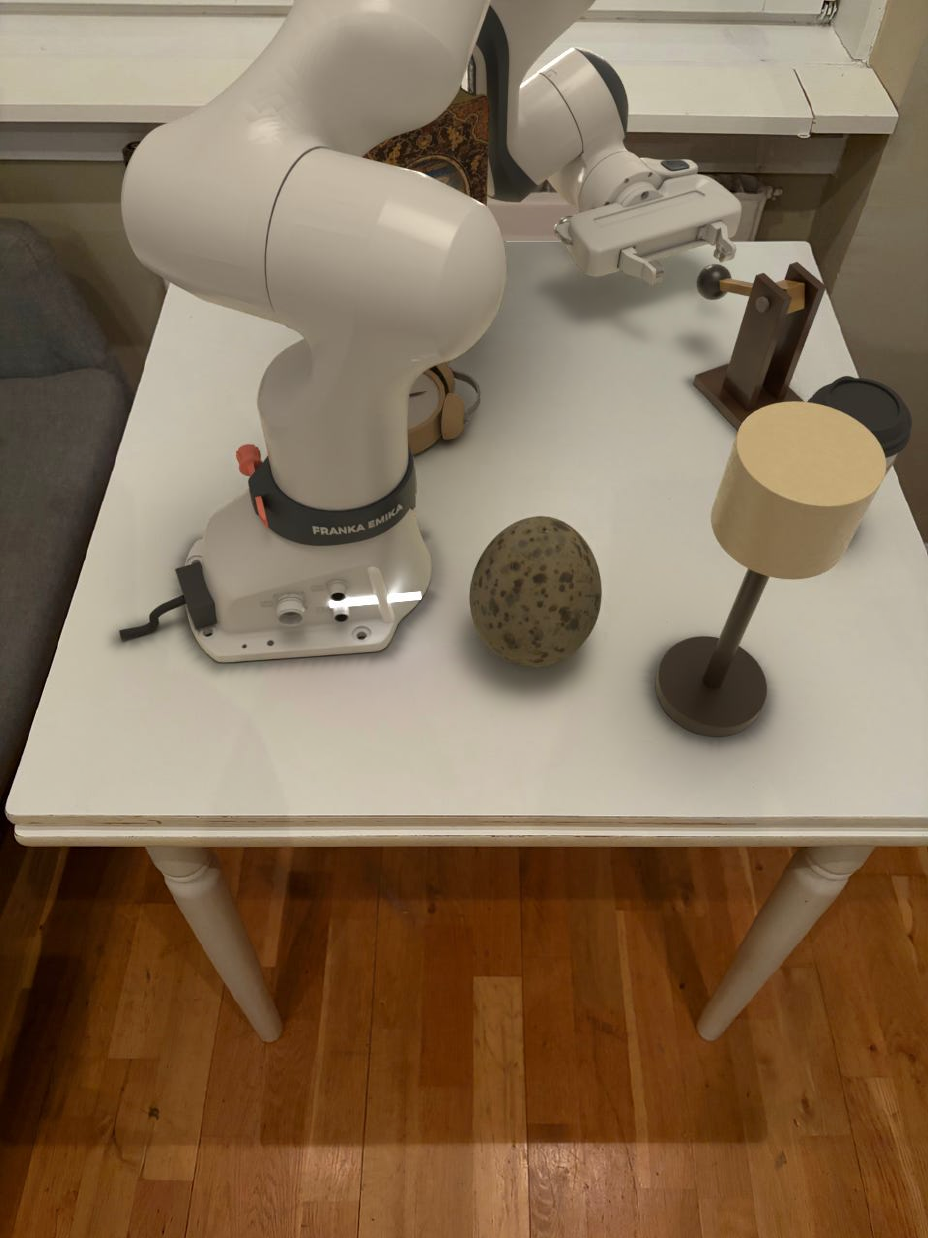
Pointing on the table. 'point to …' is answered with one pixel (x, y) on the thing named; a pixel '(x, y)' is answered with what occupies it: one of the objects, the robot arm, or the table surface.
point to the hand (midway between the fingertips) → (694, 266)
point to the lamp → (771, 546)
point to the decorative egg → (536, 592)
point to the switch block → (764, 349)
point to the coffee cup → (870, 411)
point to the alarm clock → (437, 407)
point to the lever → (742, 286)
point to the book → (447, 146)
